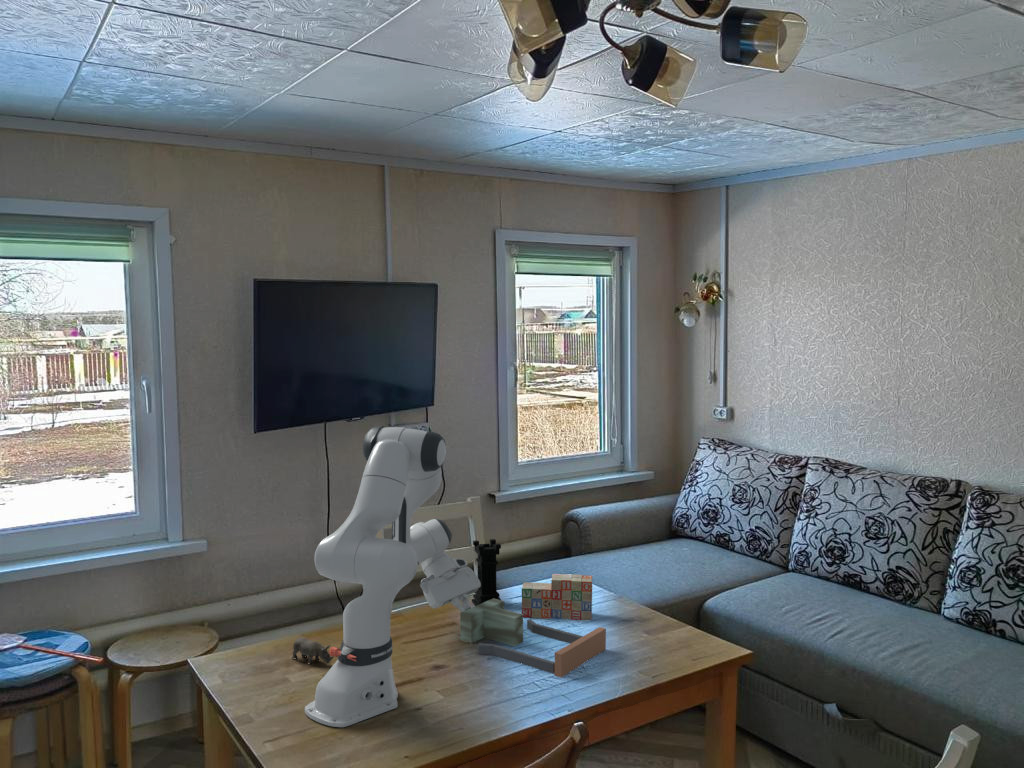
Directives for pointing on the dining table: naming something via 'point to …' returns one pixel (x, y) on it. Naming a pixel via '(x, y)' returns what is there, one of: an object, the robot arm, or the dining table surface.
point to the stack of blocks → (559, 598)
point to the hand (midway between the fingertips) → (466, 610)
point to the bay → (564, 658)
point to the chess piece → (486, 571)
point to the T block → (492, 623)
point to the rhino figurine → (311, 650)
